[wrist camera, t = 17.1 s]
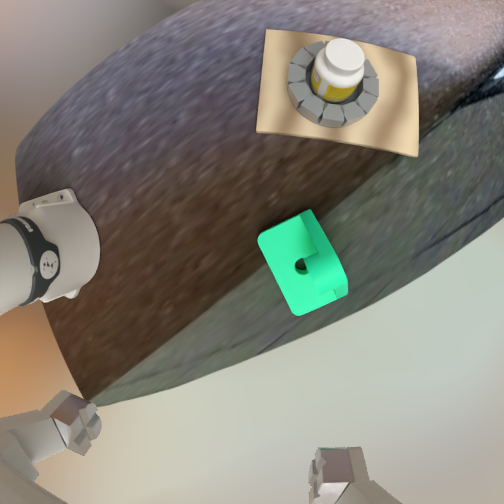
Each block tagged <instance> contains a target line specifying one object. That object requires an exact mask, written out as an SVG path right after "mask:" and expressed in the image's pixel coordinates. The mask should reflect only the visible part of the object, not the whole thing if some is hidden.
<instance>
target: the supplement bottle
mask: <svg viewBox="0 0 504 504" xmlns="http://www.w3.org/2000/svg"><path fill="white" fill-rule="evenodd" d="M364 61H365V56H364V52H363V51H362V49H361V48H360V47H359V46H358V45H357V44H356V43H355V42H353V41H351V40H348V39H344V38H337V39H334V40H331V41H330V42H329V43H328V44H327V46H326V47H325V48H323V49H321V50H320V51H319V53H318V54H317V56H316V58H315V62H314V66H313V71H312V75H311V79H310V88H311V91H312V93H313V94H314V95H315V96H317V97H318V98H320V99H321V100H322V101H324V102H325V103H329V104H336V105H338V104H341V103H343V102H345V101H346V100H347V99H348V98H349V97H350V96H351V94H352V93H353V91H354V90H355V88H356V87H357V85H358V84H359V82H360V81H361V79H362V77H363V75H364V65H363V64H364Z"/></svg>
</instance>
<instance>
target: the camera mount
mask: <svg viewBox="0 0 504 504" xmlns="http://www.w3.org/2000/svg"><path fill="white" fill-rule="evenodd" d="M258 244H259V246H260V248H261V250H262V252H263V254H264V256H265V258H266V260H267V262H268V264H269V266H270V268H271V271H272V273H273V275H274V277H275V279H276V281H277V283H278V285H279V287H280V289H281V291H282V293H283V295H284V297H285V299H286V301H287V303H288V305H289V307H290V309H291V311H292V313H293V314H295V315H298V316H300V315H303V314H306V313H308V312H310V311H312V310H315V309H317V308H319V307H321V306H324V305H326V304H328V303H330V302H332V301H334V300H337V299H339V298H341V297H343V296H345V295H347V294H348V281H347V278H346V275H345V272H344V270H343V268H342V265H341V263H340V261H339V259H338V257H337V255H336V253H335V251H334V249H333V247H332V246H331V244H330V242H329V240H328V239H327V237H326V235H325V233H324V231H323V230H322V228H321V226H320V225H319V223H318V221H317V219H316V218H315V216H314V214H313V213H312V211H311V210H310V209H309V210H307V211H304V212H302V213H300V214H298V215H296V216H294V217H292V218H290V219H288V220H286V221H284V222H281V223H279V224H277V225H275V226H273V227H271V228H269V229H267V230H265V231H263V232H261V233H260V235H259V237H258ZM300 258H304V259H303V260H304V262H305V265H306V267H307V268H306V269H304V270H299V269H297V268H296V267H295V263H296V261H297V260H298V259H300Z"/></svg>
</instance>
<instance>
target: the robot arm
mask: <svg viewBox="0 0 504 504" xmlns="http://www.w3.org/2000/svg"><path fill="white" fill-rule="evenodd" d="M99 259H100V243H99V237H98V233H97V230H96V227H95V225H94V222H93V221H92V219H91V217H90V216H89V214H88V213H87V212H86V211H85V210H84V209H83V208H82V207H81V206H80V204H79V203H78V201H77V198H76V196H75V194H74V192H73V190H72V189H70V188H68V189H64V190H60V191H57V192H54V193H51V194H47V195H44V196H41V197H38V198H35V199H32V200H29V201H26V202H24V203H21V204H20V207H19V210H18V213H17V214H14V215H11V216H9V217H8V218H7V219H5V220H3V221H1V222H0V315H2V314H3V313H5V312H7V311H9V310H10V309H12V308H14V307H16V306H24V305H27V304H31V303H33V302H35V301H36V300H37V299H39V300H42V301H43V302H49V301H51V300H54V299H56V298H59V297H61V296H66V297H68V298H70V299H72V298H74V297H76V296H77V295H78V293H79V291H80V288H81V287H82V286H83V285H84V284H86V283H87V282H89V281H90V280H91V279H92V277H93V276H94V274H95V272H96V270H97V268H98V264H99ZM96 411H97V408H96V405H95V404H94V403H91V402H89V401H87V400H85V399H82V398H80V397H78V396H76V395H74V394H72V393H70V392H67V391H65V390H62V391H60V392H59V393H58V394H57V395H56V396H55V397H54V398H53V399H52V400H51V401H50V402H49V403H48V404H47V405H46V406H45V407H44V408H42V409H41V410H40V411H39V410H34V411H30V412H26V413H21V414H17V415H13V416H8V417H3V418H0V504H68V503H67V502H65V501H63V500H61V499H60V498H58V497H56V496H55V495H53V494H52V493H50V492H48V491H47V490H45V489H44V488H42V487H41V486H39V485H38V484H36V483H35V482H34V481H35V480H36V478H37V477H38V476H39V473H38V471H37V469H36V468H35V467H34V465H33V464H34V463H36V462H39V461H41V460H43V459H45V458H48V457H50V456H52V455H55V454H57V453H59V452H61V451H63V450H66V449H67V448H68V449H70V450H72V451H74V452H76V453H78V454H80V455H83V456H84V455H85V453H86V452H87V451H88V449H89V448H90V447H91V440H93V439H96V438H97V437H98V435H99V434H100V431H101V420H100V418H99V416H98V415H97V414H96ZM309 484H310V485H311V486H312V488H311V490H310V492H309V504H402V503H400V502H399V501H398V500H397V499H395V498H394V497H393V496H392V495H391V494H389V493H388V492H387V491H386V490H384V489H383V488H382V487H381V486H379V485H378V484H377V483H376V482H375V481H370V480H369V476H368V472H367V467H366V463H365V459H364V455H363V451H362V448H361V447H335V448H318V449H317V450H316V453H315V459H314V460H313V461H312V463H311V465H310V469H309Z"/></svg>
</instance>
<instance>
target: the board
mask: <svg viewBox="0 0 504 504" xmlns="http://www.w3.org/2000/svg"><path fill="white" fill-rule="evenodd" d="M337 38H338V37H333V36H326V35H320V34H312V33H304V32H295V31H283V30H267V29H266V37H265V46H264V56H263V66H262V76H261V86H260V96H259V106H258V116H257V127H256V132H257V133H267V134H278V135H288V136H297V137H306V138H314V139H321V140H328V141H335V142H341V143H347V144H353V145H358V146H364V147H369V148H374V149H379V150H384V151H388V152H393V153H397V154H402V155H406V156H410V157H418V140H419V108H418V84H417V71H416V60H415V57H413V56H410V55H407V54H404V53H401V52H398V51H394V50H391V49H387V48H383V47H380V46H376V45H372V44H368V43H363V42H359V41H354V40H351V41H353V42H355V43H356V44H357V45H358V46H359V47H360V48H361V49H362V51H363V52H364V56H365V60H366V59H368V60H369V62H370V63H371V65H372V67H373V68H374V70H375V72H376V73H377V75H378V76H377V77H376V78H378V79H379V97H378V98H377V99H378V100H377V101H376V103H375V104H374V106H373V107H372V108H371V110H370V111H369V113H368V114H367V115H365V116H364V117H363V118H362V119H361V120H359V121H357V122H355V123H354V124H351V125H349V126H346V127H341V128H328V127H323V126H320V125H317V124H315V123H313V122H311V121H309V120H307V119H306V118H305V117H303V116H302V115H301V114H300V113H299V112H298V111H297V109H296V108H295V107H294V105H293V104H292V102H291V99H290V97H289V94H288V90H287V87H288V72H289V64H290V61H291V59H292V58H293V57H294V56H295V55H296V54H297V52H298V51H299V50H300V49H301V48H303V49H304V46H306V45H310V44H313V43H316V42H320V41H323V43H324V44H325V41H331V40H334V39H337ZM348 40H349V39H348Z"/></svg>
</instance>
